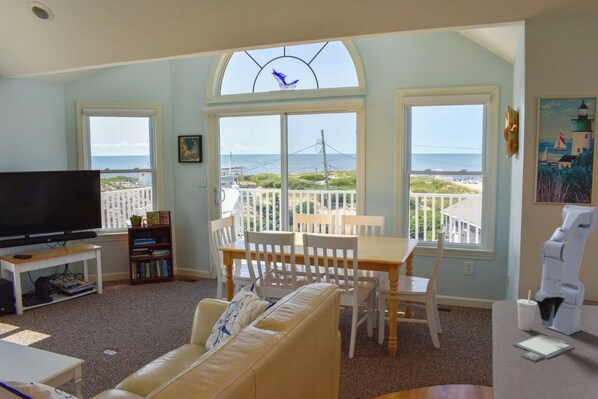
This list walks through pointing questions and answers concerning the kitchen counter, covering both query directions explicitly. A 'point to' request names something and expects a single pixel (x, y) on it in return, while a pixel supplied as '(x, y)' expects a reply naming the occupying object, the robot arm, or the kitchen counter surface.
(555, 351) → the clipboard
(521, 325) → the smoothie
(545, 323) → the blue bottle
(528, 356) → the word card
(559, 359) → the kitchen counter surface
